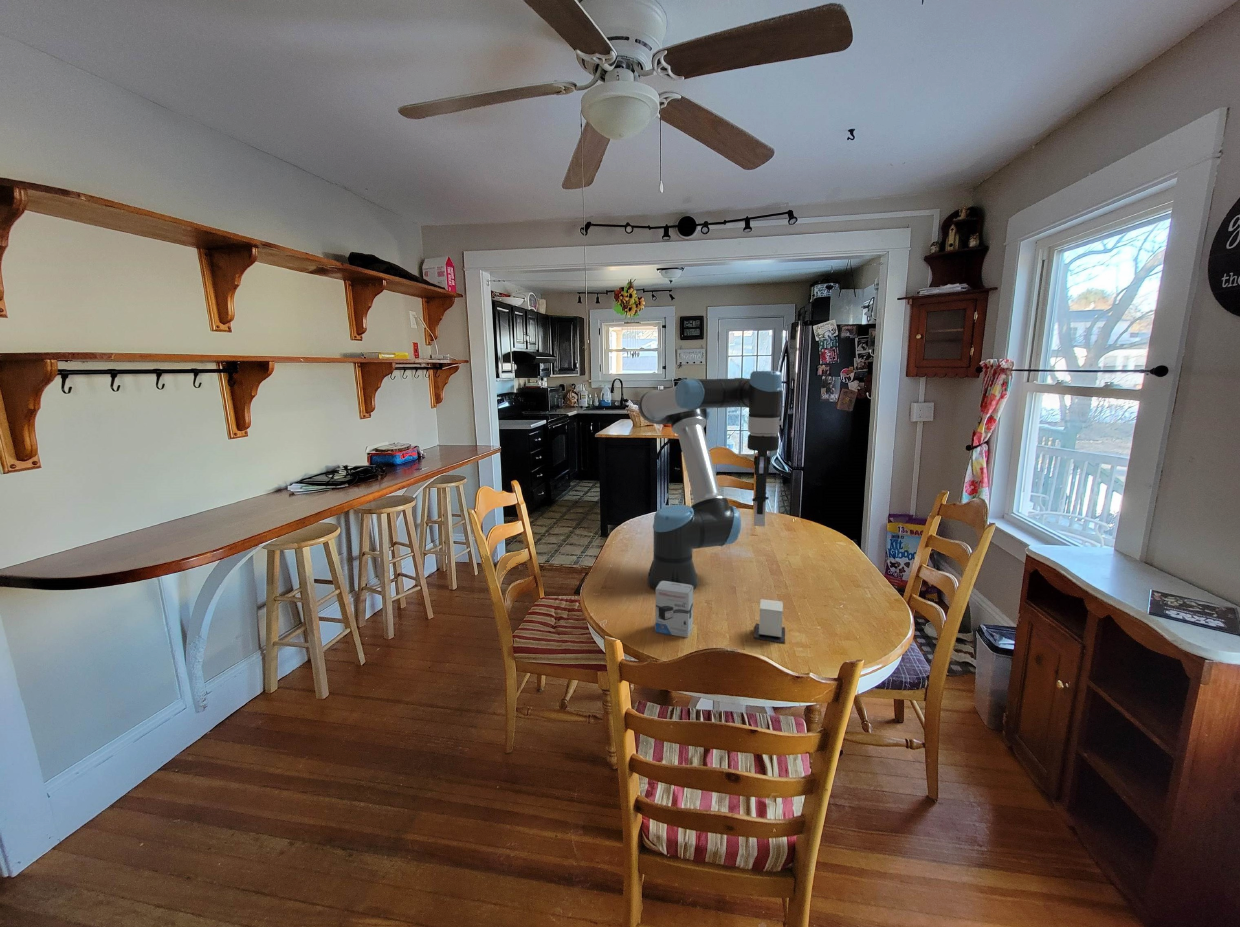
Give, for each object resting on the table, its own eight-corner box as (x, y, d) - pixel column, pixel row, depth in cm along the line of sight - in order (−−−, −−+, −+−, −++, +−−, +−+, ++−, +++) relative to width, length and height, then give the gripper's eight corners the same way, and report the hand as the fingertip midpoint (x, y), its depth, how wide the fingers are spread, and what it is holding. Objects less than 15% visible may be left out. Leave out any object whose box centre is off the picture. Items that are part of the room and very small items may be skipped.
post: (754, 638, 122) (755, 611, 121) (755, 625, 129) (757, 599, 128) (784, 643, 120) (786, 615, 119) (784, 629, 127) (786, 602, 126)
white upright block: (758, 633, 123) (759, 608, 121) (759, 623, 128) (760, 599, 126) (781, 636, 121) (782, 611, 120) (781, 626, 126) (782, 601, 125)
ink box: (654, 632, 126) (654, 587, 124) (660, 623, 130) (660, 580, 128) (688, 638, 123) (689, 593, 121) (692, 629, 127) (693, 584, 125)
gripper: (779, 437, 119) (774, 534, 123) (779, 431, 131) (774, 519, 135) (746, 436, 121) (742, 531, 125) (749, 430, 133) (746, 517, 138)
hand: (759, 525), depth 130 cm, fingers closed
